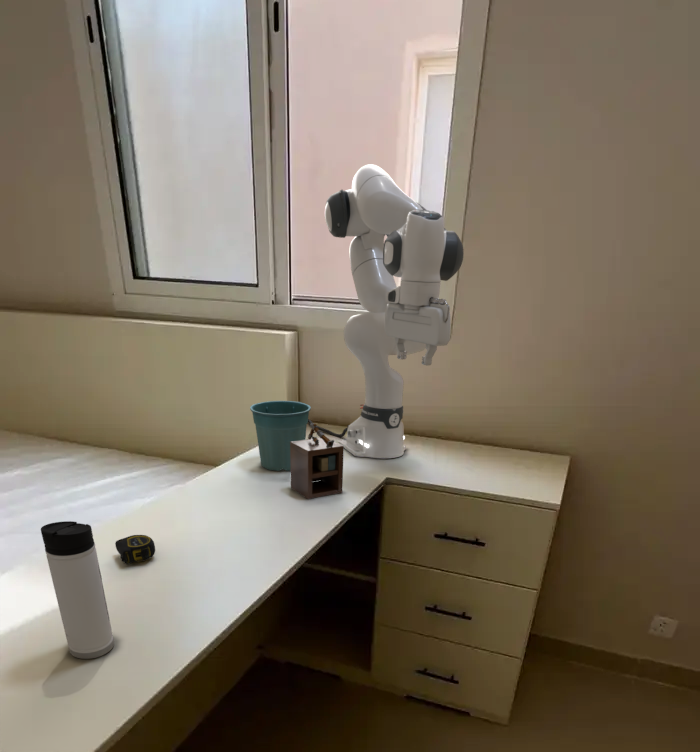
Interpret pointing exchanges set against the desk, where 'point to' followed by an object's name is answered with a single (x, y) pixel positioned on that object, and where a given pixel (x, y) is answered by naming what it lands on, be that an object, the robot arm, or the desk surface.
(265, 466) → the flower pot
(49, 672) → the desk surface
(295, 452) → the shelf
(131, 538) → the tape measure
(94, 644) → the travel mug
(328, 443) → the hinged wooden rods
